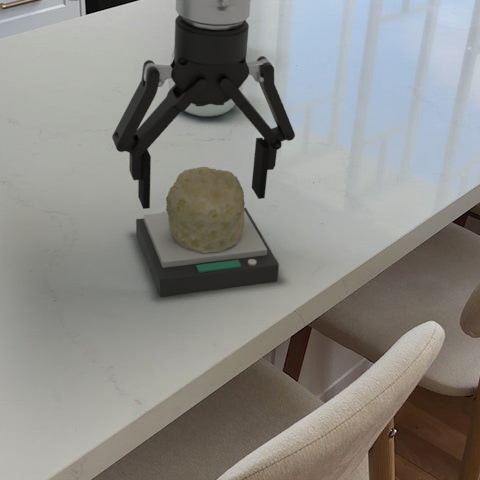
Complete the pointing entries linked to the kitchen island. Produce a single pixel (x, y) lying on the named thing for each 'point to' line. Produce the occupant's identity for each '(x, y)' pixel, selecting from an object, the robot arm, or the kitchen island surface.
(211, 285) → the scale
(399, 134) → the kitchen island surface
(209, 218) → the beige textured cylinder
